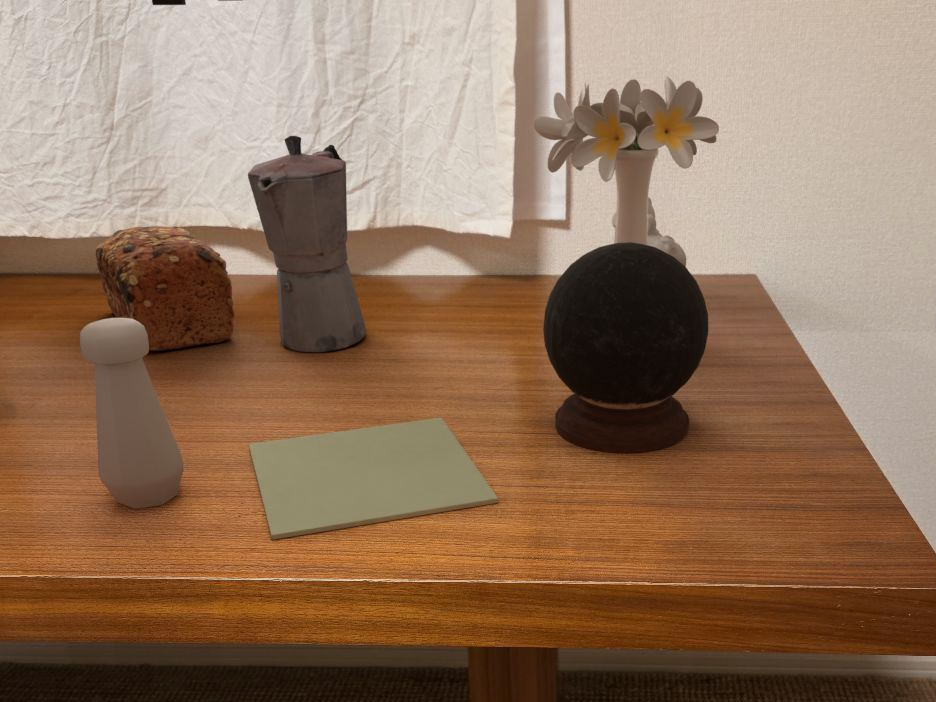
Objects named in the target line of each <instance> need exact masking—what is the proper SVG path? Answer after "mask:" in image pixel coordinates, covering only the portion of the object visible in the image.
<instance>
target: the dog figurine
mask: <svg viewBox="0 0 936 702" xmlns="http://www.w3.org/2000/svg"><path fill="white" fill-rule="evenodd" d="M615 224H616V212H614V214H613V215H612V218H611V225H612V227H613V228H614V229H615ZM647 243H648V245H649V246H653V247H656V248H658V249H660V250H662V251H664V252H665V253H667V254H669V255H671V256H673V257H675V258H676V259H677V260H678V261H679V262H681V263H682V264H683V265H684V266H685V267H686V268H687V255H686V252H685V251H684V248H682V246H681V245H680V244H679V243H678V242H676V239H674V238H673V237H672V236H671V235H662V233H660V230H658V229H657V220H656V212H655V209H654V206H653V201H652V199H651V198H650V197H649V196H648V213H647Z"/></svg>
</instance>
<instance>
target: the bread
mask: <svg viewBox="0 0 936 702" xmlns="http://www.w3.org/2000/svg"><path fill="white" fill-rule="evenodd" d="M95 259H96V267H97V271H98V273H99V276H100V278H101V286H102V289H103V291H104V295H105V298H106V300H107V304H108V306H109V308H110V310H111V312H112V314H113V315H114V316H115V318H128V319H134V320H136V321H138V322H139V323H141V324H142V325H144V327H145V330H146V332H147V335H148V342H149V351H160V352H161V351H167V350H168V351H169V350H173V349H182V348H186V347H193V346H201V345H202V346H203V345H207V344H208V345H209V344H214V343H221V342H222V343H223V342H224V341H227V340H229V339H230V338H231V337H232V335H233V334H234V327H235V325H234V317H235V316H236V315H235V311H234V300H233V285H232V280H231V279H230V276H229V272H228V270H227V261H226V260H225V259H224V258H222V257H221V254H220V252H218V251H216V250H214V249H213V248H212V247H211V246H210V245H207V244H206V243H205V242H204V241H202V240H201V239H199V238H198V237H196V236H195V235H194V234H192V233H190V232H189V231H188V230H187V229H184V228H181V227H178V226H161V225H151V226H134V227H131V228H125V229H119V230H117V231H115V232H114V233H113V234H112V235H111V236H110V237H108V238H107V239H106V240H105V241H104V242H101V243H99V244H98V245H97V246H96V248H95Z"/></svg>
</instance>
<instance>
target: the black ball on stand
mask: <svg viewBox="0 0 936 702" xmlns="http://www.w3.org/2000/svg"><path fill="white" fill-rule="evenodd" d="M542 330H543V342H544V348H545V350H546V353H547V358H548V360H549V362H550V364H551V366H552V368H553V370H554V371H555V374H556V375H557V377H558V378H559V379H560V380H561V382H562V383H563V384H564V385H565V386H566V387H567V388H568V389H569V390H570V392H572V393H573V394H570V395H569V396H568V397H566V398H565V400H564V401H563V403H562V405H561V406H560V407H558V409H557V410H556V412H555V415H554V417H555V418H554V423H555V424H554V427H555V430H556V432H557V433H558V435H559V436H561V438H563V439H564V440H566V441H568V442H569V443H571V444H573V445H575V446H578V447H581V448H585V449H587V450H592V451H598V452H603V453H612V454H613V453H614V454H637V453H648V452H653V451H659V450H662V449H665V448H668V447H671V446H673V445H675V444H677V443H679V442H680V441H682V440H684V438H685V437H686V436H687V435H688V432H689V429H690V427H689V426H690V418H689V414H688V413H687V411H686V410H685V409H684V406H683V405H682V404H681V402H680V401H679V400H678V399H677V398H675V397H674V395H675V394H676V393H677V392H678V391H679V390H681V389H682V388H683V387H684V386H685V385H686V383H688V382H689V381H690V380H691V378H692V377H693V375H694V373H695V372H696V370H697V369H698V368H699V366H700V363H701V361H702V359H703V356H704V353H705V351H706V346H707V342H708V336H709V331H710V330H709V313H708V309H707V304H706V299H705V297H704V294H703V293H702V290H701V288H700V286H699V284H698V282H697V280H696V278H695V277H694V276H693V274H692V273H691V271H689V269H688V268H687V266H686V267H685V266H684V265H683V264H682V263H681V262H679V261H678V260H677V259H676V258H675V257H673V256H671V255H669V254H667V253H665V252H664V251H662V250H660V249H658V248H656V247H653V246H649V245H644V244H638V243H632V242H626V243H615V244H614V243H610V244H606V245H602V246H598V247H597V248H595V249H592V250H591V251H588V252H586V253H585V254H583V255H581V256H580V257H579V258H578V259H576V260H575V261H574V262H572V263H571V264H570V265H569V266H568V267H567V268H566V270H564V272H563V273H562V274H561V275H560V276H559V278H558V279H557V281H556V282H555V284H554V286H553V288H552V289H551V292H550V293H549V297H548V299H547V302H546V306H545V309H544V319H543V328H542Z"/></svg>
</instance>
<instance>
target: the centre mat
mask: <svg viewBox="0 0 936 702" xmlns="http://www.w3.org/2000/svg"><path fill="white" fill-rule="evenodd" d="M248 449H249V453H250V457H251V461H252V465H253V468H254V473H255V477H256V481H257V485H258V489H259V493H260V497H261V501H262V506H263V509H264V513H265V517H266V523H267V525H268V530H269V533H270V538H271V540H273V541H274V540H280V539H287V538H292V537H298V536H305V535H310V534H316V533H322V532H323V533H324V532H328V531H329V532H330V531H335V530H340V529H348V528H353V527H360V526H366V525H372V524H379V523H383V522H390V521H396V520H401V519H407V518H415V517H422V516H426V515H432V514H439V513H444V512H445V513H446V512H452V511H457V510H462V509H470V508H475V507H479V506H481V507H482V506H486V505H493V504H498V503H499V497H498V496H497V495H496V492H494V490H493V488H492V487H491V486H490V485H489V483H488V481H487V480H486V479H485V477H484V476H483V474H482V473H481V471H480V470H479V469H478V467H477V466H476V464H475V462H474V461H473V460H472V458H470V456H469V454H468V453H467V451H466V450H465V448H464V447H463V445H461V443H460V442H459V440H458V438H457V437H456V436H455V434H454V433H453V431H452V430H451V428H450V427H449V426H448V424H447V423H446V422H445V420H444V418H443V417H436V418H435V417H434V418H428V419H420V420H414V421H413V420H412V421H405V422H398V423H391V424H383V425H376V426H370V427H362V428H354V429H347V430H340V431H332V432H325V433H318V434H311V435H304V436H296V437H289V438H281V439H275V440H265V441H259V442H251V443H248Z"/></svg>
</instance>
